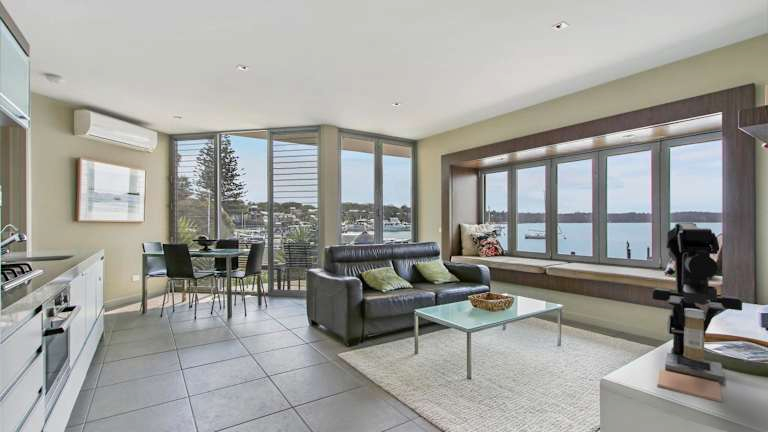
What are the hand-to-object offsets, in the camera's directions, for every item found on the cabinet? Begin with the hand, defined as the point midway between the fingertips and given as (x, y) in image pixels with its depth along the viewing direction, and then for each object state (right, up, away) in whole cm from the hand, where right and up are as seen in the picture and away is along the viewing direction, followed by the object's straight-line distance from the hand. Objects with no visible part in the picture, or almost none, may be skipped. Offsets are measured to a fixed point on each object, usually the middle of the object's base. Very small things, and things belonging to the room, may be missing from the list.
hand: (694, 329), depth 103 cm
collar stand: (0, -12, 0) cm, 12 cm away
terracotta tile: (-9, -11, -9) cm, 17 cm away
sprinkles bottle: (0, -8, 0) cm, 8 cm away
